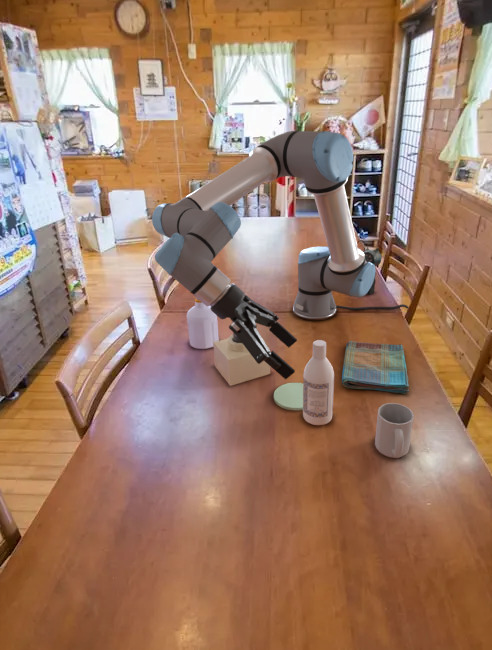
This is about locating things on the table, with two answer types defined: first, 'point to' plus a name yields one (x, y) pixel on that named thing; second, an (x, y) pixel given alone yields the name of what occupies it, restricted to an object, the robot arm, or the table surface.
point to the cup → (393, 429)
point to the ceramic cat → (374, 258)
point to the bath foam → (318, 387)
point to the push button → (236, 339)
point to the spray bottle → (202, 326)
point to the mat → (289, 396)
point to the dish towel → (375, 367)
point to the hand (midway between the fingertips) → (291, 358)
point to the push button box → (237, 362)
